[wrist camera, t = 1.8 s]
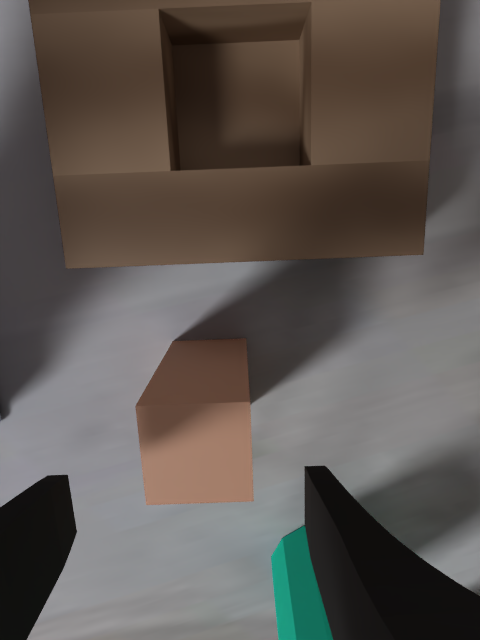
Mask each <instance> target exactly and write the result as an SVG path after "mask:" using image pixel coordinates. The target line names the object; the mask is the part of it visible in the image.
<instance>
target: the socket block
mask: <svg viewBox="0 0 480 640" xmlns="http://www.w3.org/2000/svg"><path fill="white" fill-rule="evenodd" d="M28 1H29V8H30V15H31V22H32V29H33V37H34V44H35V51H36V58H37V65H38V72H39V79H40V86H41V94H42V101H43V108H44V115H45V122H46V129H47V136H48V143H49V151H50V158H51V165H52V172H53V179H54V186H55V193H56V200H57V208H58V215H59V222H60V229H61V236H62V243H63V250H64V258H65V265H66V269H71V268H96V267H122V266H147V265H173V264H198V263H224V262H249V261H275V260H300V259H326V258H351V257H377V256H402V255H423V252H424V237H425V222H426V207H427V193H428V178H429V163H430V149H431V134H432V119H433V104H434V90H435V75H436V60H437V45H438V31H439V16H440V1H441V0H28Z"/></svg>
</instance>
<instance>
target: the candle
mask: <svg viewBox="0 0 480 640" xmlns="http://www.w3.org/2000/svg"><path fill="white" fill-rule="evenodd" d="M271 560H272V574H273V585H274V596H275V607H276V617H277V628H278V639H279V640H333V637H332V634H331V630H330V627H329V623H328V619H327V616H326V612H325V609H324V605H323V602H322V598H321V595H320V591H319V588H318V584H317V580H316V577H315V573H314V570H313V566H312V562H311V558H310V553H309V547H308V541H307V535H306V529H305V526H303V527H301V528H299V529H297V530H296V531H294V532H292V533H290V534H289V535H287V536H285V537H283V538H282V540H281V541H280V543H279V545H278V546H277V548H276V550H275V551H274V553H273V555H272V556H271Z"/></svg>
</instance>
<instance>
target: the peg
mask: <svg viewBox="0 0 480 640" xmlns="http://www.w3.org/2000/svg"><path fill="white" fill-rule="evenodd" d="M136 415H137V424H138V434H139V443H140V452H141V461H142V470H143V479H144V489H145V498H146V505H161V504H190V503H218V502H247V501H254V498H253V470H252V442H251V414H250V392H249V376H248V360H247V343H246V338H240V339H213V340H187V341H173V342H172V344H171V345H170V347H169V349H168V351H167V352H166V354H165V356H164V358H163V359H162V361H161V363H160V365H159V366H158V368H157V370H156V371H155V373H154V375H153V377H152V378H151V380H150V382H149V384H148V385H147V387H146V389H145V390H144V392H143V394H142V396H141V397H140V399H139V401H138V403H137V404H136Z"/></svg>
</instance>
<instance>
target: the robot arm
mask: <svg viewBox="0 0 480 640" xmlns="http://www.w3.org/2000/svg"><path fill="white" fill-rule="evenodd" d="M0 421H1V415H0ZM305 529H306V535H307V541H308V547H309V553H310V558H311V562H312V566H313V570H314V573H315V577H316V580H317V584H318V588H319V591H320V595H321V598H322V602H323V605H324V609H325V612H326V616H327V619H328V623H329V627H330V630H331V634H332V637H333V640H480V596H478V595H477V594H475V593H473V592H472V591H470V590H468V589H467V588H465V587H463V586H462V585H460V584H459V583H457V582H455V581H454V580H452V579H451V578H449V577H448V576H446V575H445V574H443V573H442V572H440V571H439V570H437V569H436V568H434V567H433V566H431V565H430V564H429V563H427V562H426V561H424V560H423V559H422V558H420V557H419V556H418V555H416V554H415V553H414V552H412V551H411V550H410V549H409V548H407V547H406V546H405V545H403V544H402V543H401V542H400V541H398V540H397V539H396V538H395V537H394V536H392V535H391V534H390V533H389V532H388V531H387V530H386V529H385V528H384V527H382V526H381V525H380V524H379V523H378V522H377V521H376V520H375V519H374V518H373V517H372V516H371V515H370V514H369V513H368V512H367V511H366V510H365V509H364V508H363V507H362V506H361V505H360V504H359V503H358V502H357V501H356V500H355V499H354V498H353V497H352V496H351V494H350V493H349V492H348V491H347V490H346V489H345V488H344V487H343V486H342V484H341V483H340V482H339V481H338V480H337V479H336V477H335V476H334V475H333V474H332V473H331V472H330V470H329V469H328V468H327V467H326V466H305ZM76 533H77V530H76V524H75V518H74V511H73V505H72V499H71V492H70V486H69V480H68V475H50V476H46V477H45V478H43V479H41V480H40V481H38V482H37V483H35V484H34V485H32V486H31V487H29V488H28V489H26V490H25V491H23V492H22V493H20V494H19V495H18V496H16V497H15V498H13V499H12V500H10V501H9V502H8V503H6V504H5V505H3V506H2V507H0V640H27V638H28V636H29V634H30V632H31V630H32V628H33V626H34V624H35V622H36V621H37V619H38V617H39V615H40V613H41V611H42V609H43V607H44V605H45V603H46V601H47V599H48V597H49V596H50V594H51V592H52V590H53V588H54V586H55V584H56V582H57V580H58V578H59V576H60V574H61V572H62V570H63V568H64V566H65V563H66V560H67V558H68V555H69V553H70V550H71V547H72V544H73V542H74V539H75V536H76Z"/></svg>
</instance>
